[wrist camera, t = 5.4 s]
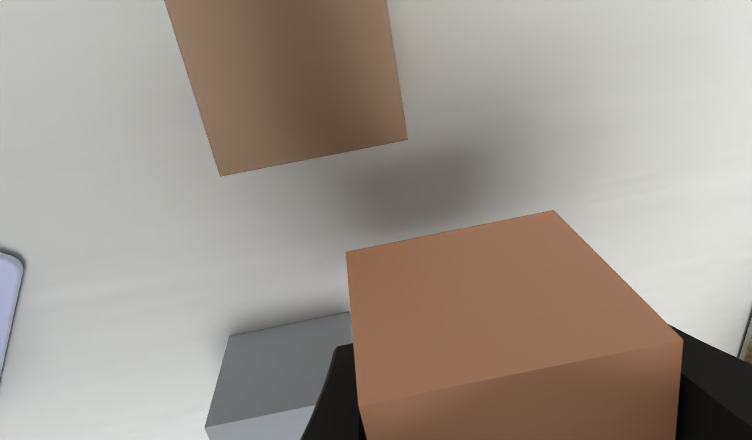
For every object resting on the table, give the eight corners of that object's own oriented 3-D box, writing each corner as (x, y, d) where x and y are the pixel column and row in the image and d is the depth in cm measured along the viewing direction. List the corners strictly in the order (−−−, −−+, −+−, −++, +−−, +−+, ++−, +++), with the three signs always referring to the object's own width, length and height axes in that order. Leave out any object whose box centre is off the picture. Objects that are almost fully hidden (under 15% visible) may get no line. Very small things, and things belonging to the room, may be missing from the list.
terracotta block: (382, 409, 15) (408, 602, 10) (345, 251, 13) (358, 405, 8) (560, 373, 15) (666, 549, 10) (553, 210, 13) (683, 339, 8)
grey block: (262, 423, 24) (247, 528, 19) (229, 334, 22) (204, 427, 17) (371, 401, 24) (382, 500, 19) (349, 310, 22) (355, 397, 17)
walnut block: (245, 128, 18) (220, 176, 14) (200, -29, 16) (154, -33, 12) (387, 100, 19) (408, 139, 14) (360, -60, 16) (375, -75, 12)
